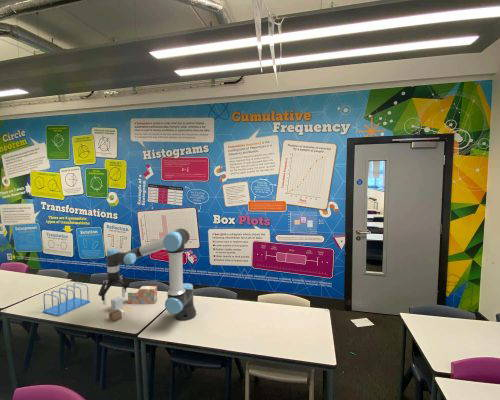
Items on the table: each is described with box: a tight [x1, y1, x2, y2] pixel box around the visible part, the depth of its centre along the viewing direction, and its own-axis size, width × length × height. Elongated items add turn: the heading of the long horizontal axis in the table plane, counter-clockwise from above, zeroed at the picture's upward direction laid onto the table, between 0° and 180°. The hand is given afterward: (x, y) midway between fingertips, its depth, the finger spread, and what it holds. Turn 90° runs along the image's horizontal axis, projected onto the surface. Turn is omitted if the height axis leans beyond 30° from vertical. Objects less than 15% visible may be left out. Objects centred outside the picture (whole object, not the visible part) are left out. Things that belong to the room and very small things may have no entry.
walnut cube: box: [108, 309, 123, 323], centre depth 188 cm, size 6×6×6 cm
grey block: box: [110, 296, 124, 311], centre depth 204 cm, size 6×6×8 cm
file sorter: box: [42, 282, 91, 317], centre depth 207 cm, size 25×17×15 cm
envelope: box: [108, 303, 135, 313], centre depth 201 cm, size 16×16×1 cm
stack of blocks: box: [127, 285, 158, 305], centre depth 216 cm, size 21×6×12 cm, turn 89°
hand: (114, 300), depth 188 cm, fingers open, 13 cm apart
